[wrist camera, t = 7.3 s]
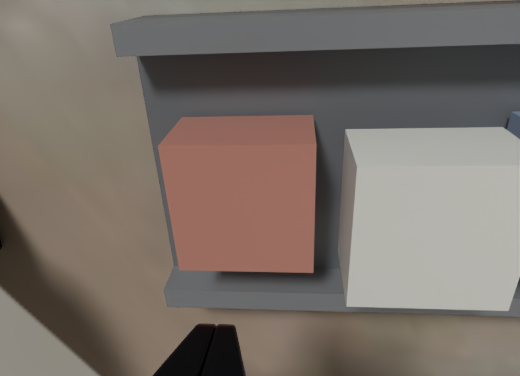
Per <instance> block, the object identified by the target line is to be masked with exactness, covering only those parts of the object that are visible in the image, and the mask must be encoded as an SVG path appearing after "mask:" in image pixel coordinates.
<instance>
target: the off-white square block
mask: <svg viewBox="0 0 520 376" xmlns="http://www.w3.org/2000/svg"><path fill="white" fill-rule="evenodd" d="M338 255H339V261H340V268H341V275H342V281H343V288H344V295H345V301H346V307H377V308H414V309H450V310H487V311H509V308H510V305H511V302H512V299H513V296H514V293H515V290H516V287H517V284H518V281H519V278H520V139H519V138H517V137H516V136H515V135H513V134H512V133H510V132H509V131H508V130H506V129H505V128H503V127H466V128H393V129H345V139H344V156H343V173H342V190H341V207H340V224H339V241H338Z"/></svg>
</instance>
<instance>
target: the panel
mask: <svg viewBox="0 0 520 376" xmlns="http://www.w3.org/2000/svg"><path fill="white" fill-rule="evenodd" d="M110 26H111V31H112V36H113V41H114V46H115V51H116V56H117V57H123V56H137V61H138V67H139V72H140V78H141V83H142V89H143V94H144V100H145V105H146V111H147V117H148V122H149V128H150V133H151V139H152V144H153V150H154V156H155V161H156V167H157V172H158V178H159V183H160V189H161V194H162V200H163V206H164V211H165V217H166V222H167V228H168V233H169V239H170V245H171V250H172V256H173V261H174V268H173V270H172V272H171V275H170V277H169V279H168V282H167V284H166V286H165V289H164V293H165V298H166V303H167V307H192V308H227V309H262V310H297V311H332V312H367V313H402V314H437V315H472V316H507V317H520V278H519V281H518V284H517V287H516V290H515V293H514V296H513V299H512V302H511V305H510V308H509V311H487V310H450V309H414V308H377V307H346V301H345V295H344V288H343V281H342V275H341V268H340V261H339V255H338V241H339V224H340V207H341V190H342V173H343V156H344V139H345V129H393V128H466V127H503V128H505V129H506V130H507V127H508V123H509V119H510V115H511V112H517V111H520V0H512V1H488V2H464V3H440V4H416V5H392V6H368V7H344V8H320V9H296V10H272V11H248V12H224V13H200V14H177V15H153V16H142V17H137V18H133V19H129V20H125V21H120V22H116V23H112V24H110ZM274 115H313V118H314V127H315V135H316V144H317V148H316V189H315V230H314V271H313V273H289V272H238V271H188V270H179V265H178V260H177V254H176V248H175V242H174V237H173V231H172V225H171V219H170V214H169V208H168V202H167V196H166V191H165V185H164V179H163V173H162V168H161V162H160V156H159V150H158V145H159V144H160V143H161V141H162V140H163V139H164V138H165V137H166V136H167V134H168V133H169V132H170V131H171V130H172V128H173V127H174V126H175V125H176V124H177V122H178V121H179V120H180V119H181V118H182V117H216V116H274Z"/></svg>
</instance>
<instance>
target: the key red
mask: <svg viewBox="0 0 520 376" xmlns="http://www.w3.org/2000/svg"><path fill="white" fill-rule="evenodd" d="M316 148H317V144H316V135H315V127H314V118H313V115H274V116H216V117H182V118H181V119H180V120H179V121H178V122H177V124H176V125H175V126H174V127H173V128H172V130H171V131H170V132H169V133H168V134H167V136H166V137H165V138H164V139H163V140H162V141H161V143H160V144H159V145H158V150H159V156H160V162H161V168H162V173H163V179H164V185H165V191H166V196H167V202H168V208H169V214H170V219H171V225H172V231H173V237H174V242H175V248H176V254H177V260H178V265H179V270H188V271H238V272H289V273H313V271H314V230H315V189H316Z"/></svg>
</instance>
